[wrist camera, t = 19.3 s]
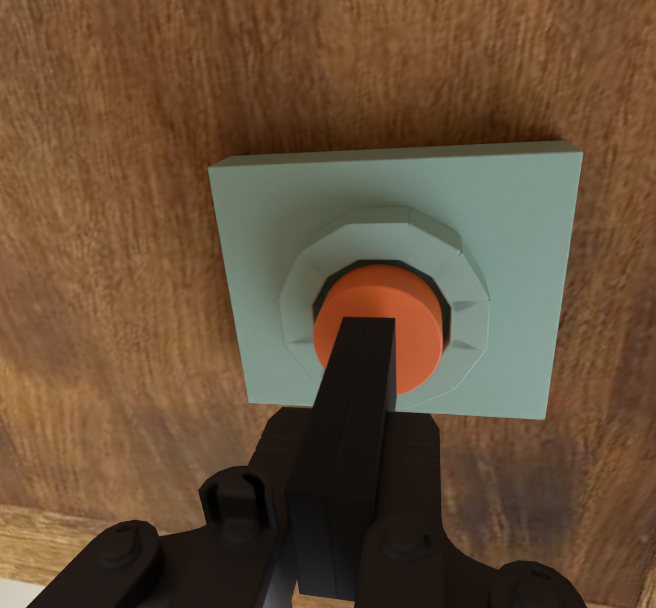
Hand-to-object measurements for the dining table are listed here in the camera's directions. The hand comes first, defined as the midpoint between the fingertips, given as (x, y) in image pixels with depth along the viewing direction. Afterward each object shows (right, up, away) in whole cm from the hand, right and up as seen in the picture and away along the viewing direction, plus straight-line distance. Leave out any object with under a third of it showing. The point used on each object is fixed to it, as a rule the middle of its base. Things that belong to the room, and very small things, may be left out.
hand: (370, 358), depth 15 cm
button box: (+1, +3, +5) cm, 6 cm away
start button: (+1, +1, +2) cm, 3 cm away
